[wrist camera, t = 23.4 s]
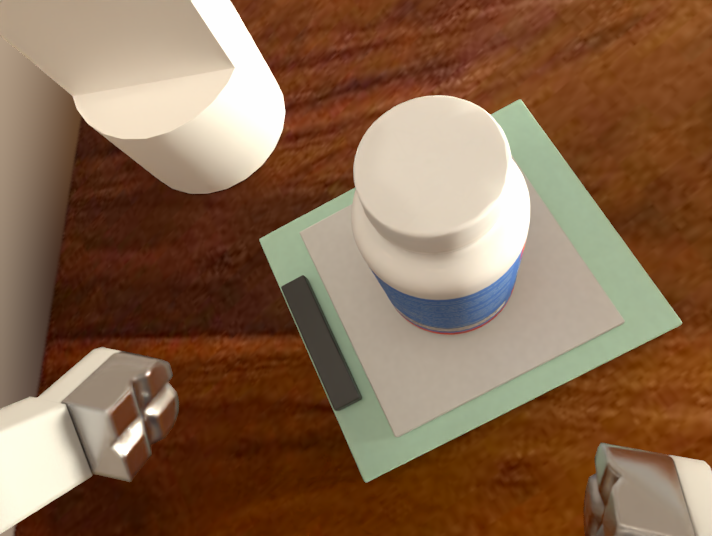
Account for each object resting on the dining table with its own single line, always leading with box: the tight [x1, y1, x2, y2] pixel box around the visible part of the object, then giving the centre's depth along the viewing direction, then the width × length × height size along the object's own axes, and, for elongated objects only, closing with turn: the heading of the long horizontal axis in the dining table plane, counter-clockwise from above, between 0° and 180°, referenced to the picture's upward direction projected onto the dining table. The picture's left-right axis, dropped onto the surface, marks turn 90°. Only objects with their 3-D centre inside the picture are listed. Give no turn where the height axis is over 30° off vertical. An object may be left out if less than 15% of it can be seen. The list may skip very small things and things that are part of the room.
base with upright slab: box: [0, 0, 285, 194], centre depth 25 cm, size 9×9×12 cm
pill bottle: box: [351, 95, 530, 335], centre depth 18 cm, size 6×5×10 cm
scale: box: [259, 99, 682, 482], centre depth 24 cm, size 14×12×3 cm
